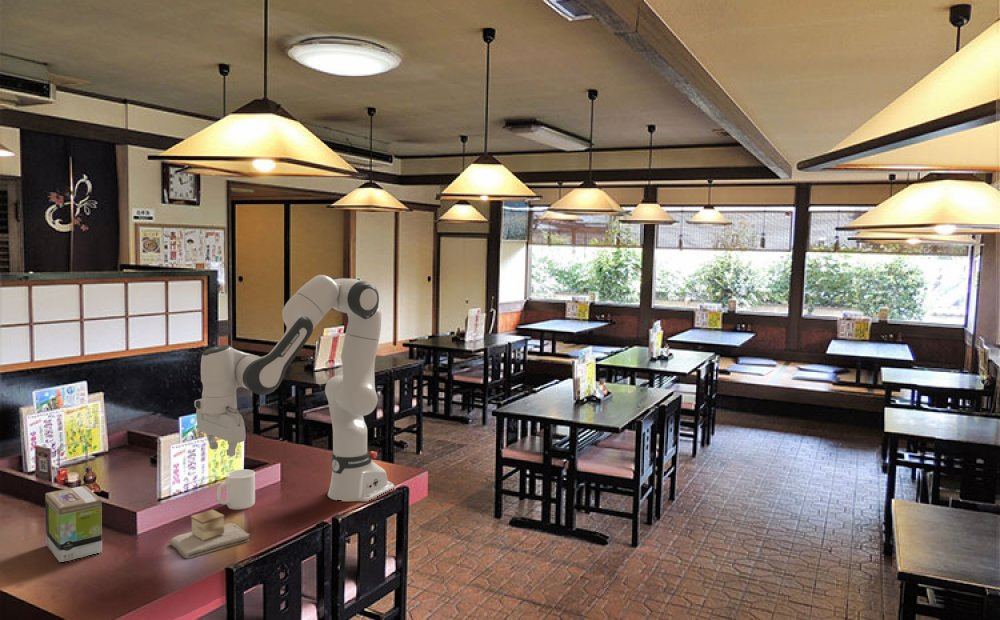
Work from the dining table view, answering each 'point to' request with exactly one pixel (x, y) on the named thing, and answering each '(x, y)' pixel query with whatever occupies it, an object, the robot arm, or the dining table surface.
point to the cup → (239, 489)
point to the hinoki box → (207, 524)
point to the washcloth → (209, 541)
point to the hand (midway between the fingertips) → (222, 452)
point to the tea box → (73, 523)
